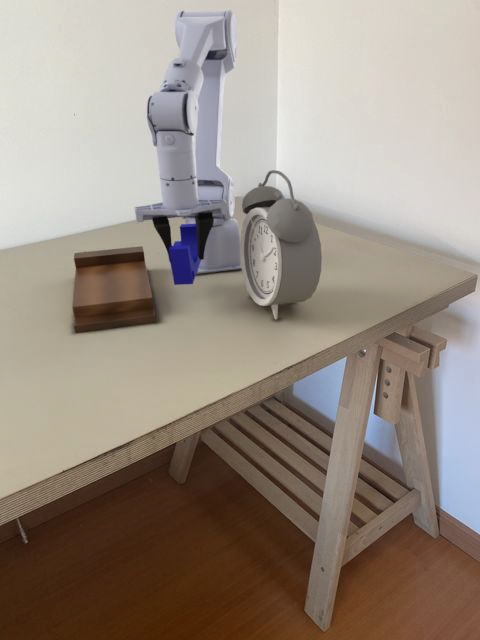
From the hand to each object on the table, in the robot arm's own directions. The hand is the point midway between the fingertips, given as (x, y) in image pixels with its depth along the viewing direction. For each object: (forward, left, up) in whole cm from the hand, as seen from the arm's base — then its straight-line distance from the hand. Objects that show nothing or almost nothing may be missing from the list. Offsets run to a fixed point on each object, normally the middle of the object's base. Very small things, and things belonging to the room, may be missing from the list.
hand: (186, 259), depth 94 cm
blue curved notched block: (0, 0, -2) cm, 2 cm away
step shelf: (+13, -4, -7) cm, 15 cm away
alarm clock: (-14, +7, -7) cm, 17 cm away
